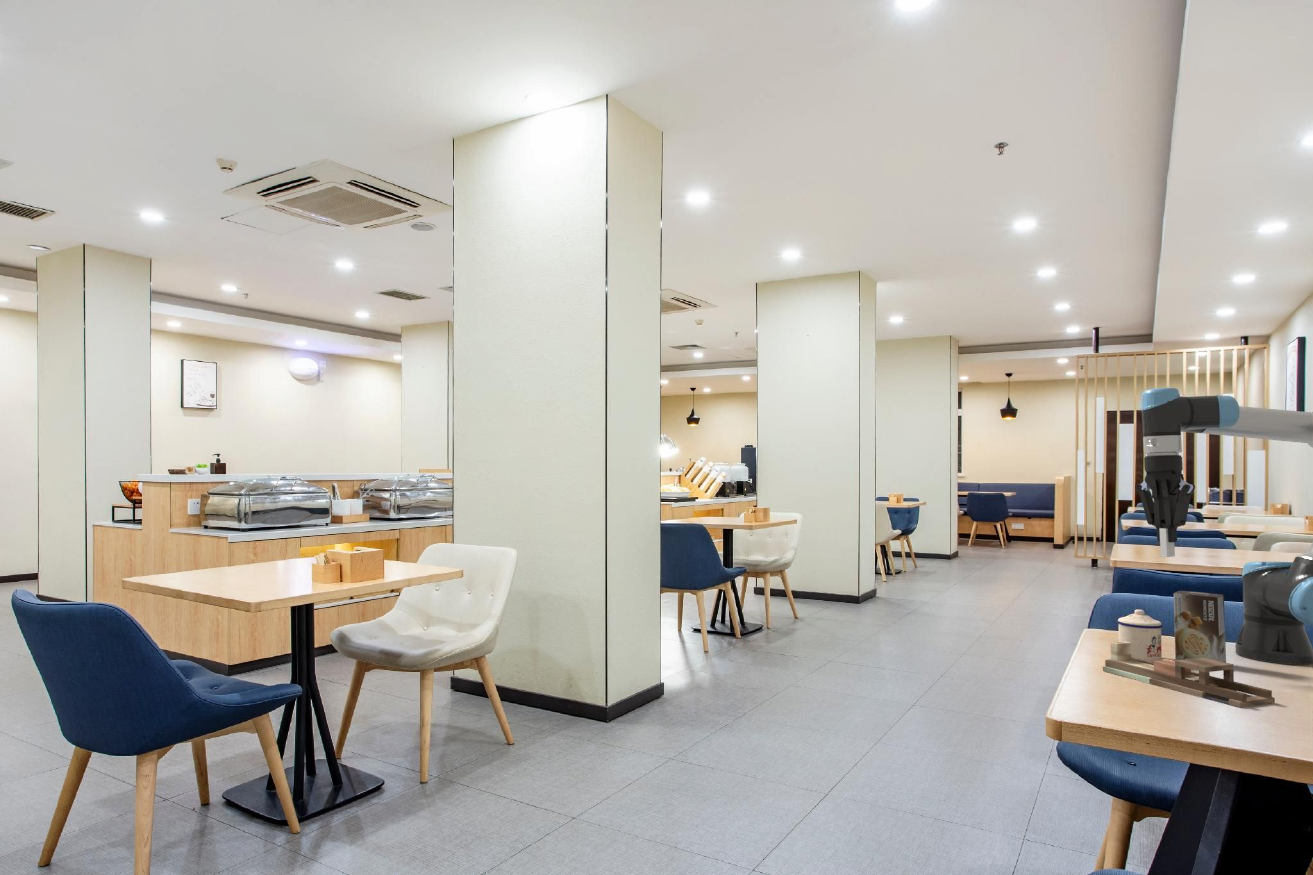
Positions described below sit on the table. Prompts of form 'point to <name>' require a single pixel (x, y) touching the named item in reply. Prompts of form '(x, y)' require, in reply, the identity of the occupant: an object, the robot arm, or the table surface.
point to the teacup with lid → (1141, 635)
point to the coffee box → (1199, 626)
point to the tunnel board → (1204, 688)
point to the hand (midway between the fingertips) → (1167, 556)
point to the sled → (1123, 655)
